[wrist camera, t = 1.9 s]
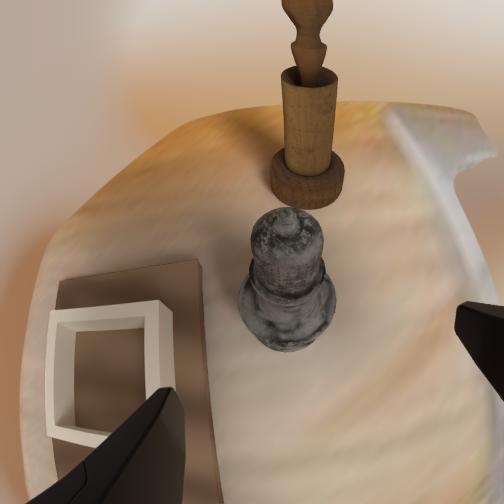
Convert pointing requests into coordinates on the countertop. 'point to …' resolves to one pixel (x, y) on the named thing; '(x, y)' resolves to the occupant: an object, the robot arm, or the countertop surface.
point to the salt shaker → (287, 281)
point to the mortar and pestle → (308, 116)
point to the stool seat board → (130, 364)
